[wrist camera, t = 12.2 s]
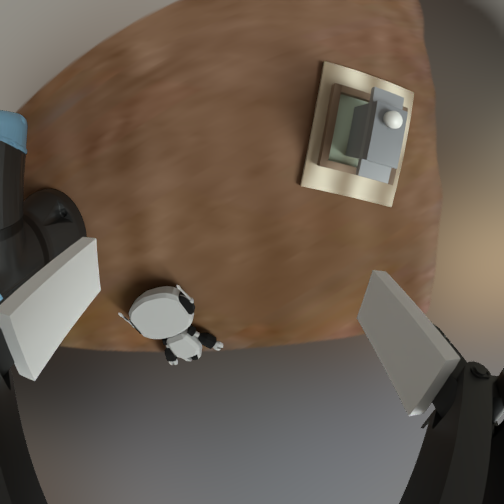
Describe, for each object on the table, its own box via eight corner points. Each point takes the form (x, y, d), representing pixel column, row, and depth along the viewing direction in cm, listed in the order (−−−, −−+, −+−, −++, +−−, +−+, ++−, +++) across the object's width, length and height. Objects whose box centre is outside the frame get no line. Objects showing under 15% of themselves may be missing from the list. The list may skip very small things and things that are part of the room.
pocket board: (300, 185, 39) (302, 187, 37) (323, 62, 32) (327, 58, 30) (389, 206, 40) (396, 209, 37) (411, 93, 33) (419, 91, 31)
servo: (342, 169, 37) (366, 178, 29) (356, 93, 33) (383, 83, 25) (368, 176, 37) (397, 187, 29) (382, 102, 33) (414, 95, 25)
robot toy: (229, 336, 49) (180, 269, 43) (228, 354, 45) (174, 284, 39) (173, 356, 51) (123, 297, 46) (168, 373, 47) (114, 313, 42)
